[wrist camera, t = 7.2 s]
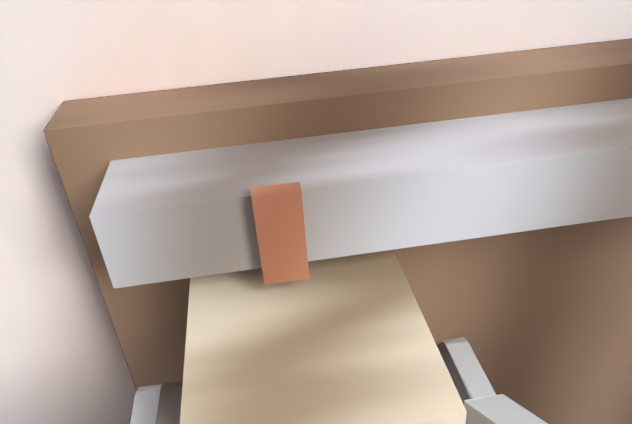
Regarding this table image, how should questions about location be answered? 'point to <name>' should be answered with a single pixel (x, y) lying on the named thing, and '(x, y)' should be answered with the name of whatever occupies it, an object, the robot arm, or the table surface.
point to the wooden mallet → (314, 349)
